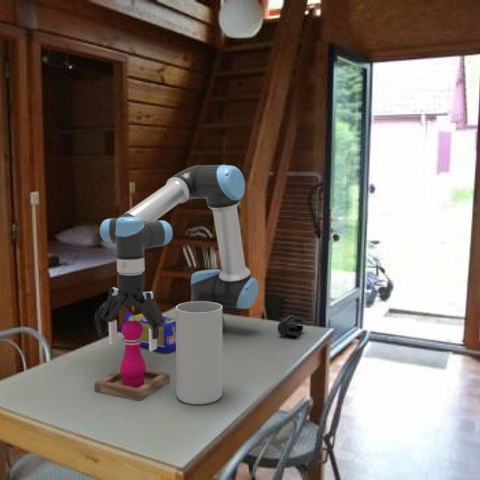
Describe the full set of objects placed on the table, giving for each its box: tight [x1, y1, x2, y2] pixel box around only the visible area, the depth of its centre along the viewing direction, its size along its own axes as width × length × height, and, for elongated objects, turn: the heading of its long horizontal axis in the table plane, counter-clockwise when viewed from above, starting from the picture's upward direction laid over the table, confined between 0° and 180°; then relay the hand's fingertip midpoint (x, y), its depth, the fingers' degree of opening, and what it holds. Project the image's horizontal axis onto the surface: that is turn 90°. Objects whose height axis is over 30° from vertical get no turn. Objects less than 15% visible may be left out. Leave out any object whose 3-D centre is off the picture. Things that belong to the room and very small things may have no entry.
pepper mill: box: [119, 314, 147, 388], centre depth 155 cm, size 7×7×20 cm
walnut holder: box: [94, 368, 171, 402], centre depth 156 cm, size 15×15×2 cm
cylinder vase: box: [175, 301, 223, 405], centre depth 149 cm, size 12×12×25 cm
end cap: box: [277, 314, 304, 341], centre depth 205 cm, size 10×7×7 cm
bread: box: [118, 310, 176, 354], centre depth 194 cm, size 10×25×10 cm, turn 52°
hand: (132, 346), depth 155 cm, fingers open, 13 cm apart
